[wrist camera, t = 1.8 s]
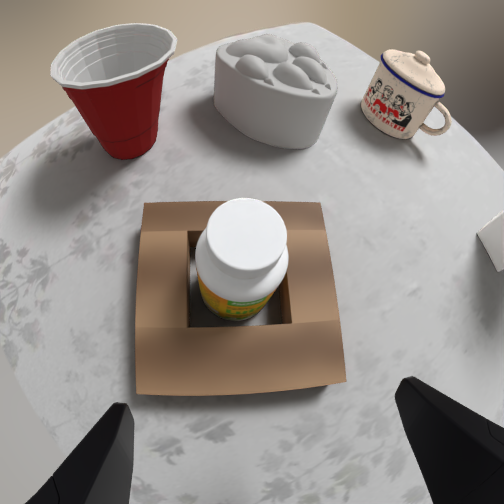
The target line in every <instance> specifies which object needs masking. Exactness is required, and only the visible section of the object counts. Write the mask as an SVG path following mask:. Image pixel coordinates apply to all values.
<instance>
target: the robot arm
mask: <svg viewBox="0 0 504 504" xmlns="http://www.w3.org/2000/svg"><path fill="white" fill-rule="evenodd" d="M395 401H396V404H397V407H398V410H399V414H400V417H401V420H402V424H403V427H404V430H405V433H406V436H407V438H408V440H409V443H410V445H411V448H412V450H413V452H414V455H415V457H416V460H417V462H418V465H419V467H420V470H421V472H422V475H423V478H424V480H425V483H426V485H427V488H428V491H429V493H430V496H431V499H432V502H433V504H504V428H503V427H501V426H499V425H497V424H495V423H493V422H492V421H490V420H488V419H486V418H484V417H483V416H481V415H479V414H477V413H476V412H474V411H472V410H470V409H469V408H467V407H465V406H463V405H462V404H460V403H458V402H457V401H455V400H453V399H451V398H450V397H448V396H446V395H445V394H443V393H441V392H439V391H438V390H436V389H434V388H433V387H431V386H429V385H427V384H426V383H424V382H422V381H421V380H419V379H417V378H416V377H413V376H410V377H407V378H404V379H402V381H401V383H400V385H399V387H398V389H397V391H396V393H395ZM133 457H134V419H133V416H132V414H131V411H130V409H129V406H128V405H127V404H126V403H118V402H115V403H113V404H112V405H111V407H110V408H109V409H108V410H107V411H106V412H105V414H104V415H103V416H102V417H101V418H100V419H99V421H98V422H97V423H96V424H95V425H94V426H93V428H92V429H91V430H90V431H89V432H88V433H87V435H86V436H85V437H84V438H83V439H82V441H81V442H80V443H79V444H78V445H77V446H76V448H75V449H74V450H73V451H72V452H71V453H70V455H69V456H68V457H67V458H66V459H65V460H64V462H63V463H62V464H61V465H60V466H59V468H58V469H57V470H56V471H55V472H54V473H53V476H51V477H50V478H49V479H48V481H47V482H46V483H45V484H44V485H43V486H42V487H41V488H40V489H39V490H38V492H37V493H36V494H35V495H34V496H32V497H31V498H30V499H29V500H28V501H27V502H26V503H25V504H129V497H130V488H131V480H132V473H133Z"/></svg>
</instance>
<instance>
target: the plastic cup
mask: <svg viewBox="0 0 504 504" xmlns="http://www.w3.org/2000/svg"><path fill="white" fill-rule="evenodd" d="M176 43H177V38H176V37H175V36H174V34H173V33H172V32H171V31H170V30H167V29H165V28H163V27H160V26H157V25H152V24H142V23H132V24H122V25H115V26H111V27H107V28H103V29H100V30H97V31H94V32H91V33H89V34H87V35H85V36H83V37H81V38H79V39H77V40H75V41H74V42H72V43H71V44H69V45H68V46H67V47H65V48H64V49H63V50H62V51H60V52H59V54H58V55H57V57H56V58H55V59H54V61H53V62H52V64H51V77H52V78H53V79H54V80H55V81H56V82H57V83H59V84H60V85H61V86H62V87H63V89H64V90H65V91H66V93H67V95H68V96H69V98H70V99H71V100H72V101H73V103H74V104H75V106H76V108H77V109H78V111H79V112H80V114H81V116H82V117H83V119H84V120H85V122H86V124H87V125H88V127H89V128H90V130H91V131H92V133H93V134H94V135H95V136H96V137H97V139H98V140H99V142H100V143H101V145H102V146H103V148H104V149H105V150H106V151H107V152H108V153H109V154H110V155H111V156H112V157H113V158H117V159H121V160H124V159H133V158H135V157H138V156H140V155H143V154H144V153H145V152H147V151H148V150H149V149H151V147H152V146H153V144H154V143H155V141H156V137H157V131H158V117H159V111H160V102H161V93H162V84H163V76H164V71H165V68H166V65H167V61H168V60H169V58H170V57H171V56H172V55H173V54H174V51H175V47H176Z"/></svg>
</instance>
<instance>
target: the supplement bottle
mask: <svg viewBox="0 0 504 504" xmlns="http://www.w3.org/2000/svg"><path fill="white" fill-rule="evenodd" d="M286 242H287V231H286V227H285V224H284V221H283V220H282V218H281V216H280V215H279V214H278V213H277V211H276V210H275V209H273V208H272V207H271V206H269V205H268V204H266V203H264V202H262V201H260V200H256V199H252V198H237V199H233V200H230V201H227V202H225V203H223V204H222V205H220V206H219V207H218V208H217V209H216V210H215V211H214V212H213V213H212V215H211V216H210V218H209V221H208V223H207V227H206V228H205V230H204V231H203V232H202V234H201V236H200V238H199V240H198V242H197V246H196V252H195V262H196V269H197V275H198V281H199V287H200V292H201V296H202V299H203V301H204V303H205V305H206V306H207V307H208V309H209V310H210V311H211V312H213V313H214V314H215V315H217V316H218V317H220V318H223V319H226V320H231V321H240V320H245V319H248V318H250V317H252V316H254V315H256V314H257V313H258V312H259V311H260V310H261V309H262V308H263V307H264V306H265V305H266V303H267V302H268V300H269V299H270V297H271V296H272V295H273V293H274V292H275V290H276V289H277V287H278V286H279V285H280V283H281V281H282V280H283V278H284V276H285V273H286V271H287V267H288V249H287V245H286Z"/></svg>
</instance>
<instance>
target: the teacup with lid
mask: <svg viewBox="0 0 504 504" xmlns="http://www.w3.org/2000/svg"><path fill="white" fill-rule="evenodd" d="M429 62H430V57H429V56H428V55H427V54H425V53H423V52H421V51H416V53H415V54H412V53H404V52H402V51H398V50H387V51H385V52H384V53H383V54H382V55H381V62H380V64H379V66H378V68H377V70H376V72H375V74H374V76H373V78H372V80H371V83H370V85H369V87H368V89H367V91H366V93H365V95H364V97H363V99H362V102H361V108H362V111H363V113H364V115H365V116H366V118H367V119H368V120H369V121H370V122H371V123H372V124H373V125H374V126H375V127H377V128H378V129H379V130H381V131H382V132H384V133H386V134H388V135H390V136H393V137H395V138H400V139H408V138H411V137H413V136H414V134H415V133H416V132H417V130H418V129H419V128H420V129H421V130H422V131H423V132H425V133H427V134H429V135H433V136H437V135H441V134H443V133H445V132H446V131H447V130H448V129H449V128H450V126H451V116H450V113H449V111H448V110H447V109H446V108H445V107H444V106H443V105H442V104H441V103H440V102H439V101H438V100H439V98H442V97H443V96H444V92H445V86H444V83H443V82H442V80H441V78H440V77H439V76H438V75H437V74H436V73H435V71H434V69H433V68H432V66H430V64H429ZM434 106H435V107H436V108H437V109H438V110H439V111H440V112H441V113H442V114H443V115H444V117H445V125H444V127H442V128H440V129H431V128H429V127H428V126H426V125H425V124H424V123H423V122H424V120H425V119H426V117H427V116H428V115H429V113H430V112H431V110H432V109H433V107H434Z"/></svg>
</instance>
